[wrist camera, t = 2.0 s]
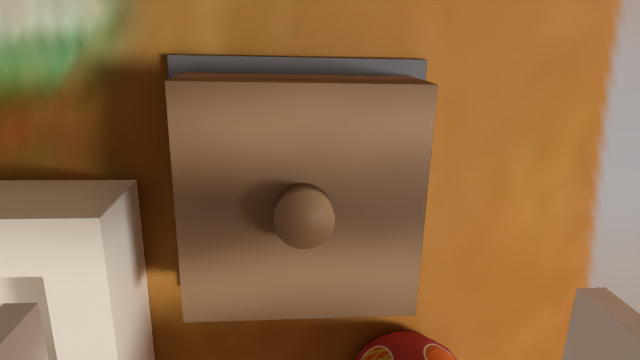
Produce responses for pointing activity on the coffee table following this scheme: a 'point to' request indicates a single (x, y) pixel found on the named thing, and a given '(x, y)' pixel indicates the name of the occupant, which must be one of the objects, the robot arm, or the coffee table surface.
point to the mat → (295, 65)
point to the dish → (78, 265)
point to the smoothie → (404, 348)
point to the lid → (299, 193)
